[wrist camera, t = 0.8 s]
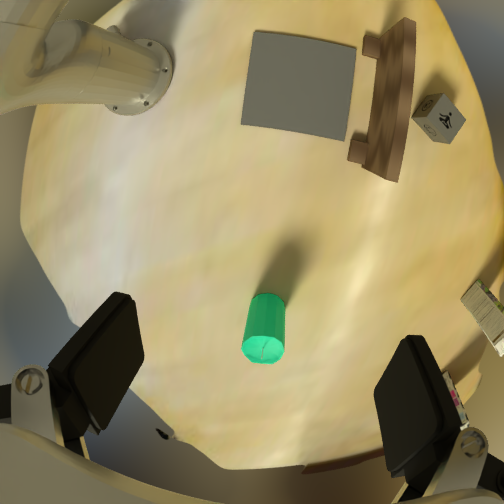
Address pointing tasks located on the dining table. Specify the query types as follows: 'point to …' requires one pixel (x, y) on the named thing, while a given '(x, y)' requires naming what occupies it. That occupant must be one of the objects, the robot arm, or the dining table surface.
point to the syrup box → (486, 313)
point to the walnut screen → (388, 101)
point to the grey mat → (299, 85)
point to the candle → (265, 329)
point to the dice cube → (439, 118)
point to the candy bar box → (456, 400)
